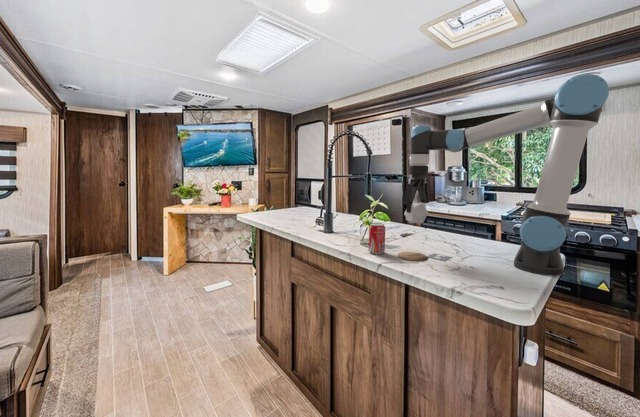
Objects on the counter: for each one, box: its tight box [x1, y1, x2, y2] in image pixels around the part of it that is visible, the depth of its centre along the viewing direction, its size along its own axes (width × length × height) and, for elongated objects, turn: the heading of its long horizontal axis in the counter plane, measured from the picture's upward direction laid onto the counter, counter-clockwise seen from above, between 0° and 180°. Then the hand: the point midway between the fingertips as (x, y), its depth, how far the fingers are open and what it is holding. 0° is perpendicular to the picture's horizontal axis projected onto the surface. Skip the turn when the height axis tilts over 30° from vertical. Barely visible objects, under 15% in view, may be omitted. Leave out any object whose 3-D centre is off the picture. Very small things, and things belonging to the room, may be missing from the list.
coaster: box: [397, 251, 428, 262], centre depth 125 cm, size 12×12×1 cm
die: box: [403, 202, 429, 224], centre depth 123 cm, size 8×9×10 cm
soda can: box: [368, 222, 386, 255], centre depth 131 cm, size 7×7×13 cm
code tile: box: [426, 252, 453, 262], centre depth 125 cm, size 8×8×1 cm
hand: (415, 219), depth 124 cm, fingers closed on die, 10 cm apart
